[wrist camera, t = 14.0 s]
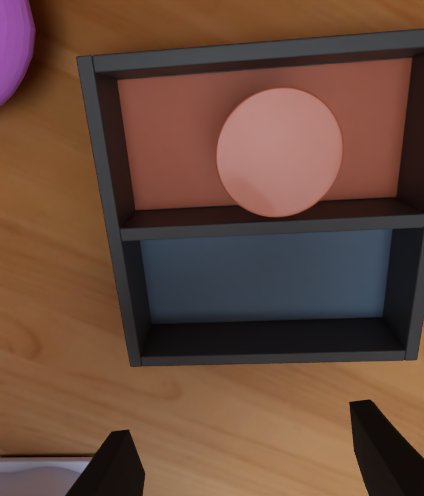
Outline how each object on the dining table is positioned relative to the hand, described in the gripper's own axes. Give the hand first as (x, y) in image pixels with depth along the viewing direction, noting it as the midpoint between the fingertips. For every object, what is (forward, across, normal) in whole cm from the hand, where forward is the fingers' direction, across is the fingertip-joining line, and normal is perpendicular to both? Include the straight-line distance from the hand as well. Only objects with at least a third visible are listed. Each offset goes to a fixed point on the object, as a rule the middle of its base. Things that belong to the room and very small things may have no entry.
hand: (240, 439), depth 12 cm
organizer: (+9, -2, -5) cm, 11 cm away
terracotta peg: (+9, -3, -8) cm, 12 cm away
